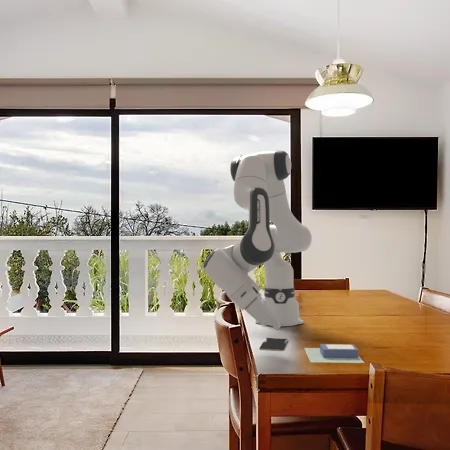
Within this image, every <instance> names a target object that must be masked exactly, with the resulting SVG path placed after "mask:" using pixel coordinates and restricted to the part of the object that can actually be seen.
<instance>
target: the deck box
mask: <svg viewBox="0 0 450 450" xmlns="http://www.w3.org/2000/svg"><path fill="white" fill-rule="evenodd" d="M319 348H320V353H321V354H322V356H323V358H358V356H359V349H358V348H357V347H356V345H355V344H354V343H353V344H352V343H351V344H348V343H345V344H344V343H342V344H341V343H320V344H319Z"/></svg>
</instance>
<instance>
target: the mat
mask: <svg viewBox="0 0 450 450" xmlns="http://www.w3.org/2000/svg"><path fill="white" fill-rule="evenodd" d="M303 349H304V351H305V354H306V356H307V357H308V360H309V362H310V363H325V364H326V363H327V364H329V363H331V364H332V363H334V364H335V363H336V364H337V363H338V364H344V363H345V364H365V362H364V360H363V359H362V358H361V357H360V355H358V358H323V356H322V354H321V353H320V347H304V348H303Z"/></svg>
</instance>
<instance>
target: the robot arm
mask: <svg viewBox="0 0 450 450" xmlns="http://www.w3.org/2000/svg"><path fill="white" fill-rule="evenodd" d="M291 170H292V161H291V158H290V156H289V154H288V153H287V152H286V151H285V150H275V151H273V150H272V151H268V150H267V151H258V152H255V153H250V154H249V153H248V154H246V155H239V156H236V157H234V158H233V159H232V161H231V162H230V169H229V171H230V175H231V179H232V180H233V182H234V186H233V196H234V198H233V199H234V202H235V203H236V205H238V206H239V207H240V208H241V209H244V210H248V227H247V230H246V232H245V234H244V235H243V236H242V237H241V239H239V240H238V241H237V242H236V243H235V244H232V245H230V246H226V247H216V248H214V249H213V250H212V251H211V252H210V253H209V254H208V255H207V257H206V259H205V260H204V261H203V270H204V272H205V274H206V275H207V276H208V277H209V279H210V280H211V281H212V282H213V283H214V284H215V285H216V286H217V288H219V289H221V290H222V291H223V292H225V294H226V296H227V297H228V299H229V300H230V301H232V302H233V304H234V305H235V306H236V307H237V308H239V309H240V310H241V311H245V312H246V313H247V314H248V315H250V317H252V318H253V320H255V323H256V324H261V326H263V327H267V326H270V327H272V328H274V329H275V331H277V330H279V329H281V327H291V326H292V327H293V326H296V325H301V324H302V325H303V324H304V320H303V319H302V318H300V305H299V302H298V301H297V300H296V298H295V295H296V290H295V289H296V288H295V287H294V282H295V281H294V277H295V276H294V269H293V266H292V265H291V264H290V263H289V262H287V261H285V260H284V259H283V257H282V255H281V253H293V254H294V253H295V254H296V253H300V252H306V251H307V250H308V249H309V248H310V246H311V245H312V234H311V231H310V229H309V228H308V227H307V226H306V225H304V224H303V223H301V222H300V221H299V220H298V219H297V218H296V217H295V216H294V214H293V213H292V211H291V209H290V208H291V207H290V205H289V201H288V197H287V191H286V187H285V186H286V185H285V181H284V180H286V179H287V178H288V177H289V176H290V174H291ZM270 222H271V223H272V224H271V223H270ZM260 265H263V266H264V275H265V276H264V277H265V278H264V279H265V280H264V281H265V286H264V291H263V293H264V294H263V295H264V298H263V297H262V294H261V292H260V290H261V286H260V285H258V283H256V282H255V280H254V279H253V278H252V277H251V276H249V273H251V272H252V271H254V270H255V269H256V268H258V267H259V266H260Z"/></svg>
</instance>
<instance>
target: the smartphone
mask: <svg viewBox="0 0 450 450" xmlns="http://www.w3.org/2000/svg"><path fill="white" fill-rule="evenodd" d="M288 342H289V338H285V337H265V338H264V340H263V341H262V343H261V345H260V346H259V350H260V351H273V352H275V351H276V352H284V351H285V348H286V347H287V344H288Z"/></svg>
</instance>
